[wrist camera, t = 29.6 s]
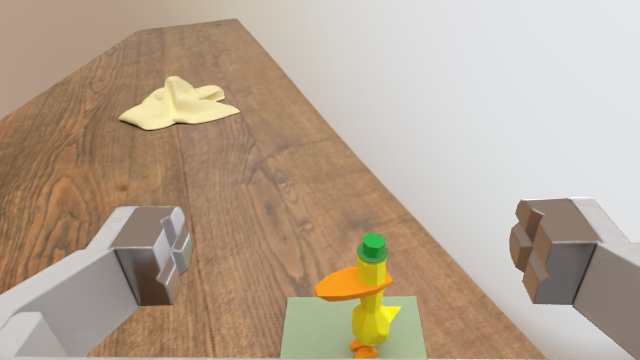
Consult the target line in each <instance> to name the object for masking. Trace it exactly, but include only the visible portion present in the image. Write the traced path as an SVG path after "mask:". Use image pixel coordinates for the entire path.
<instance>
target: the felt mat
mask: <svg viewBox="0 0 640 360" xmlns="http://www.w3.org/2000/svg"><path fill="white" fill-rule="evenodd" d="M360 303H361V302H360V298H358V299H352V300H346V301H336V302H328V301H326V300H324V299H322V298H319V297H288V301H287V308H286V315H285V323H284V330H283V337H282V345H281V352H280V358H354V357H353V355H355V354H356V353H357V352H353V351H351V348H350V345H349V344H351V343H352V342H353V341H354V340H355V339H356V337H355V336H354V335H353V334H352V313H353V308H355V307H356V306H357V305H359V304H360ZM381 304H382V305H383V306H402V307H401V308H400V310H399V311H398V313H397V314H396V315H395V317H394V318H393V320H392V321H391V322H390V324H389V336H388V337H387V340H386V341H384V342H383V343H381V344H378V345H376V346H374V348H375V349H376V350H377V352H378V355H377V356H375V357H374V358H372V359H427V355H426V349H425V344H424V338H423V333H422V328H421V322H420V317H419V311H418V306H417V301H416V296H395V297H383V298H382V303H381Z"/></svg>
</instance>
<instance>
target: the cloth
mask: <svg viewBox="0 0 640 360" xmlns="http://www.w3.org/2000/svg"><path fill="white" fill-rule="evenodd" d="M223 99H225V97H224V92H223V90H222V89H221V88H220V87H218V86H215V85H209V86H204V87H200V88H195V89H194V88H193V87H192V86H191V85H190V84H189V83H187V82H186V81H184V80H182V79H181V78H179V77H177V76H171V77H169V78H167V80H166V81H165V86H164V87H163V88H160V89H157V90H155V91H154V92H153V93H152V94H151V95H150V96H149V97H148V98H146V99H145V100H144V101H143V103H142V104H141V105H138V106H136V107H134V108H132V109H130V110H128V111H126V112H125V113H123V114H122V115H121V116H120V117H119V118H118V119H119V120H123V121H126V122H129V123H132V124H135V125H137V126H139V127H141V128H143V129H145V130H154V129H161V128H165V127H168V126H170V125H172V124H174V123H177V122H181V123H191V124H197V123H204V122H209V121H213V120H217V119H221V118H224V117H227V116H230V115H233V114H236V113H239V112H240V111H239V110H237V109H236V108H234V107H233V106H231V105H224V104H222V103H218V102H217V101H220V100H223Z"/></svg>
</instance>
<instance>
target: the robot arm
mask: <svg viewBox="0 0 640 360" xmlns="http://www.w3.org/2000/svg"><path fill="white" fill-rule="evenodd" d="M515 214H516V216H517V217H518V220H519V221H520V222H518V224H516V225H515V226H514V227H513V228H512V229H511V234H510V253H511V257H512V260H513V262H514V264H515V267H516V268H518V269H519V270H521V271H522V272H523V273H524V277H523V281H522V282H523V284H524V286H525V288H526V290H527V292H528V294H529V296H530V299H531V301H532V303H533V304H560V305H573V308H575V309H576V310H577V311H578V312H580V313H581V314H582V315H583V316H584V317H586V318H587V319H588V320H589V321H590V322H592V323H593V324H594V325H595V326H596V327H598V328H599V329H600V330H601V331H602V332H604V333H605V334H606V335H607V336H608V337H610V338H611V339H612V340H613V341H614V342H616V343H617V344H618V345H619V346H621V347H622V348H623V349H624V350H625V351H626V352H628V353H629V354H630V355H631V356H633V357H634V358H635V359H636V360H640V243H631V242H630V241H629V240H628V239H627V237H626V236H625V235H624V234H623V233H622V231H621V230H620V229H619V228H618V227H617V225H616V224H615V223H614V222H613V221H612V220H611V218H610V217H609V216H608V215H607V214H606V213H605V211H604V210H603V209H602V208H601V207H600V205H599V204H598V203H597V202H596V201H595V200H594V199H592V198H590V197H576V198H565V199H532V200H521V201H520V202H519V204H518V206H517V209H516V213H515ZM185 220H186V219H185V216H184V213H183V210H182V208H180V207H179V206H140V207H139V206H121V207H118V208H116V209H115V210H114V211H113V213H112V214H111V216H110V217H109V218H108V220H107V221H106V222H105V224H104V225H103V226H102V228H101V229H100V230H99V232H98V233H97V234H96V236H95V237H94V238H93V240H92V241H91V242H90V244H89V245H88V246H87V248H86V249H85V250H78V251H76V252H74V253H73V254H71V255H69V256H67V257H66V258H64V259H62V260H60V261H59V262H57V263H55V264H53V265H52V266H50V267H48V268H46V269H45V270H43V271H41V272H39V273H38V274H36V275H34V276H32V277H31V278H29V279H27V280H25V281H24V282H22V283H20V284H18V285H17V286H15V287H13V288H11V289H10V290H8V291H6V292H4V293H3V294H1V295H0V360H525V359H369V358H183V357H86V356H87V355H88V354H89V353H90V352H91V351H92V350H93V349H95V348H96V347H97V346H98V345H99V344H100V343H101V342H102V341H103V340H104V339H105V338H107V337H108V336H109V335H110V334H111V333H112V332H113V331H114V330H115V329H116V328H117V327H119V326H120V325H121V324H122V323H123V322H124V321H125V320H126V319H127V318H128V317H129V316H131V315H132V314H133V313H134V312H135V311H136V310H137V309H138V308H139V307H138V306H158V305H174V302H175V300H176V298H177V295H178V293H179V290H180V288H181V286H182V281H181V278H180V276H181V275H182V274H184V273H185V272H186V271H187V270H188V269H189V266H190V264H191V261H192V253H193V245H192V239H191V235H190V233H189V232H188V231H187V230H185V229H184V228H183V227H182V226H183V224H184V222H185Z"/></svg>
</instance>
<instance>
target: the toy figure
mask: <svg viewBox="0 0 640 360" xmlns="http://www.w3.org/2000/svg"><path fill="white" fill-rule="evenodd" d="M387 255H388V252H387V249H386V248H385V238H383V237H382V236H381V235H379V234H374V233H369V234H367V235H365V236H363V243H361V244H360V245H359V246H358V247H357V265H355V266H352V267H348V268H346V269H343V270H340V271H337V272H335V273H333V274H331V275H329V276H327V277H325V278H324V279H323V280H322V281H321V282H320V283H319V284H318V285H317V286H316V287H315V292H316V296H317V297H319V298H322V299H324V300H326V301H328V302H336V301H346V300H352V299H358V298H360V302H361V303H360V304H359V305H357V306H356V307H355V308H353V313H352V334H353V335H354V336H355V337H356V339H355V340H354V341H353V342H352V343H351V344H349V345H350V348H351V351H353V352H357V353H356V354H355V355H353V357H354V358H369V359H372V358H374V357H375V356H377V355H378V352H377V350H376V349H375V348H374V346H376V345H378V344H381V343H383V342H384V341H386V340H387V337H388V336H389V324H390V322H391V321H392V320H393V318H394V317H395V315H396V314H397V313H398V311H399V310H400V308H401V307H402V306H383V305H382V304H381V303H382V298H383V293H384V288H386V287H387V286H388V285H390V284H391V283H392V282H393V281H392V279H391V277H390V276H389V274H388V272H387V270H386V258H387Z"/></svg>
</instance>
